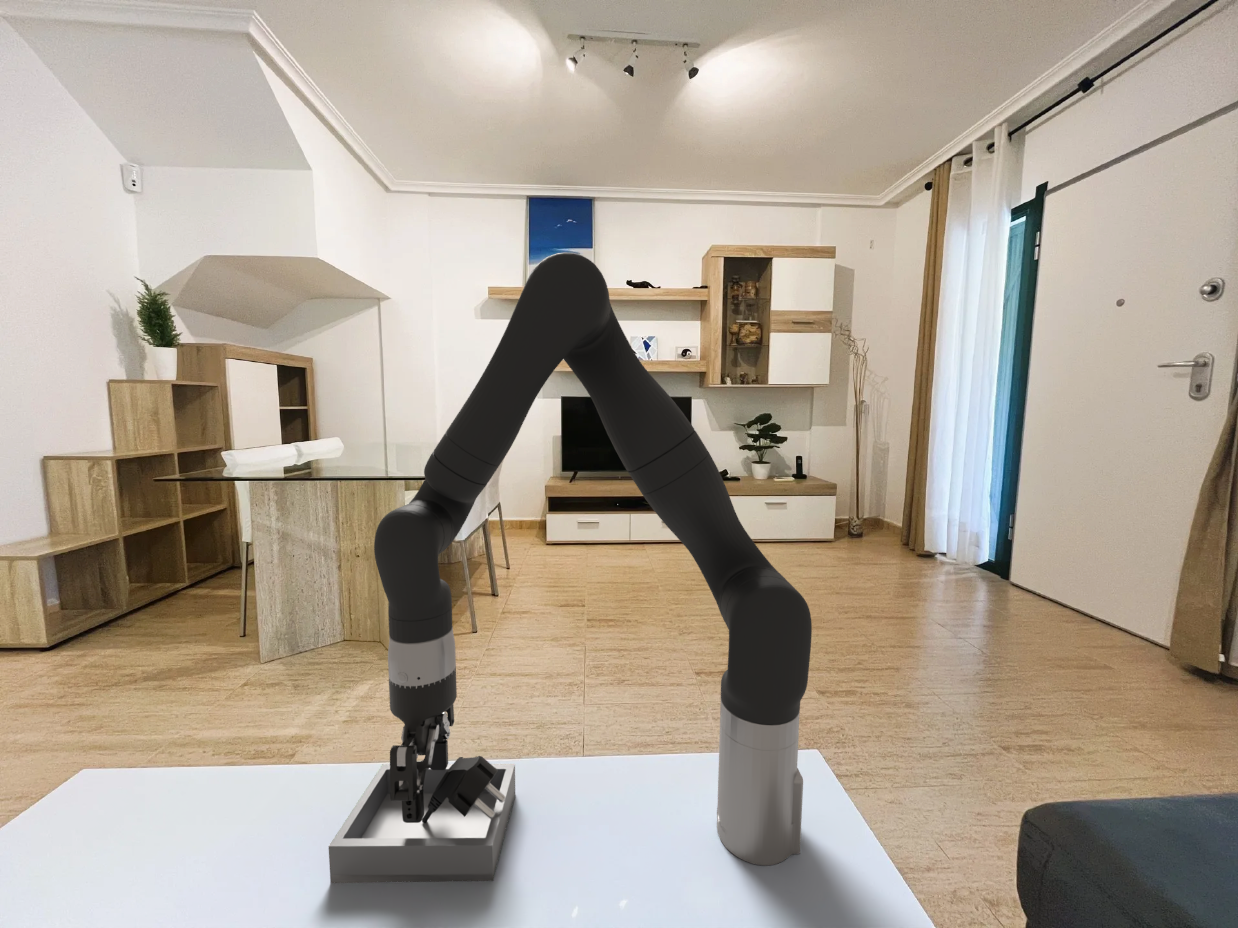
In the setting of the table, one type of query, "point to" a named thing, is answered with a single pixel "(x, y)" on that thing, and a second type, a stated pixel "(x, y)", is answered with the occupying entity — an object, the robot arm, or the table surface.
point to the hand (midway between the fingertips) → (427, 792)
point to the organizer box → (421, 836)
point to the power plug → (465, 787)
